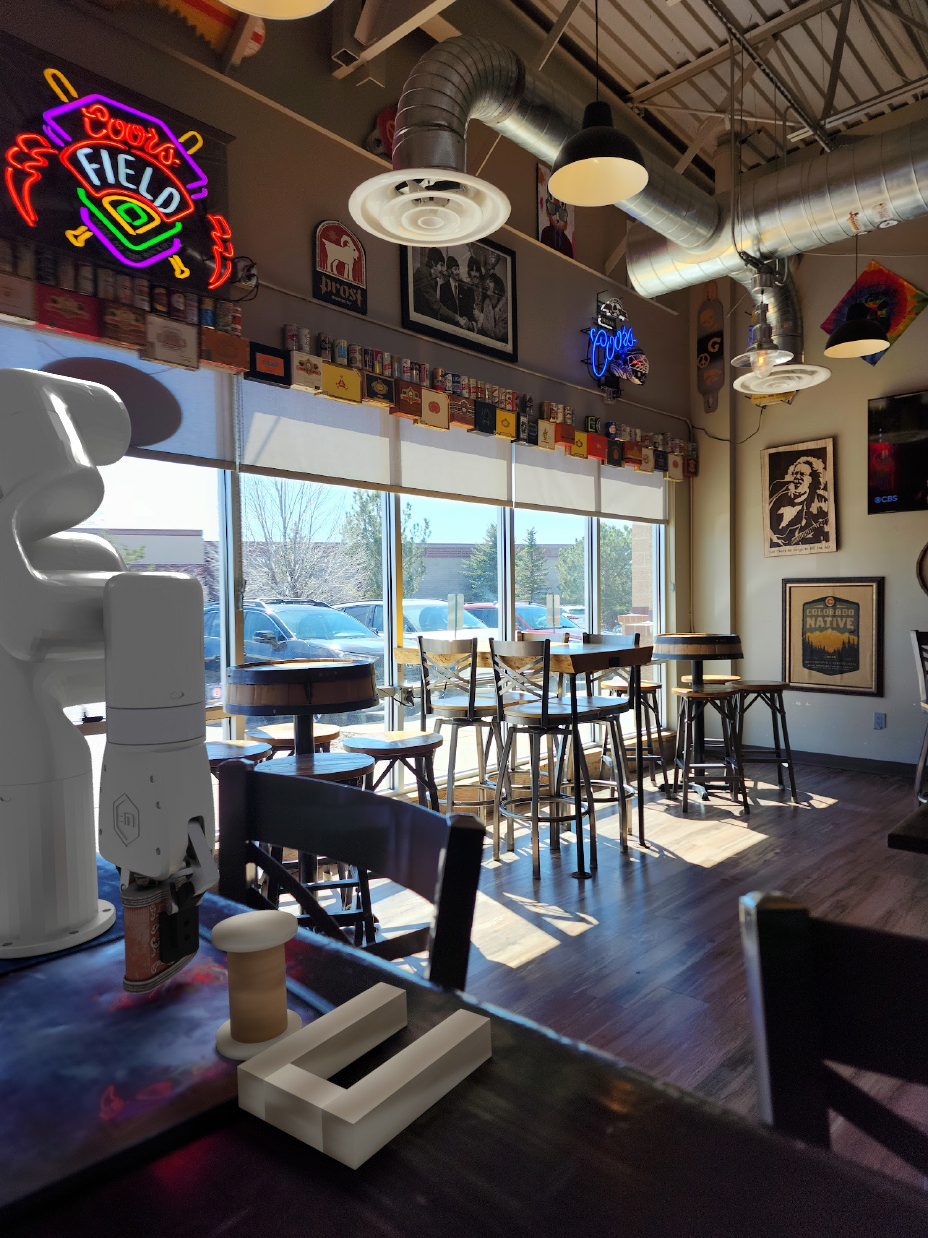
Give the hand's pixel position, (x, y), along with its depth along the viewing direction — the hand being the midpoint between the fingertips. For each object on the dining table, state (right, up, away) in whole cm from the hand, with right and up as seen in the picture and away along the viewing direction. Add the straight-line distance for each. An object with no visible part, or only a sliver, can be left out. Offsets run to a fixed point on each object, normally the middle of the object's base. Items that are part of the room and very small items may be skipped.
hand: (161, 946), depth 64 cm
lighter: (0, -2, 0) cm, 2 cm away
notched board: (+19, -3, -13) cm, 23 cm away
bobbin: (+10, -3, -7) cm, 13 cm away
